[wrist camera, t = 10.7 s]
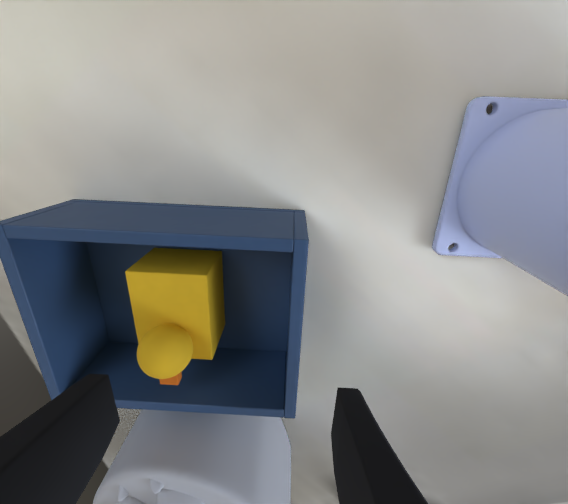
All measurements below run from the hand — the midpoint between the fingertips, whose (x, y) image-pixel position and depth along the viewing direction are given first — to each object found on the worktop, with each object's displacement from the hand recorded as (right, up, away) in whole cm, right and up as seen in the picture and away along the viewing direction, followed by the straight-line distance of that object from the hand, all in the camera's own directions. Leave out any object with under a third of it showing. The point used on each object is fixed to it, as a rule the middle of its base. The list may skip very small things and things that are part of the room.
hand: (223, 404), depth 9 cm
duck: (-4, +3, +9) cm, 10 cm away
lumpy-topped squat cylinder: (-3, -9, +14) cm, 17 cm away
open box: (-4, +3, +9) cm, 10 cm away
